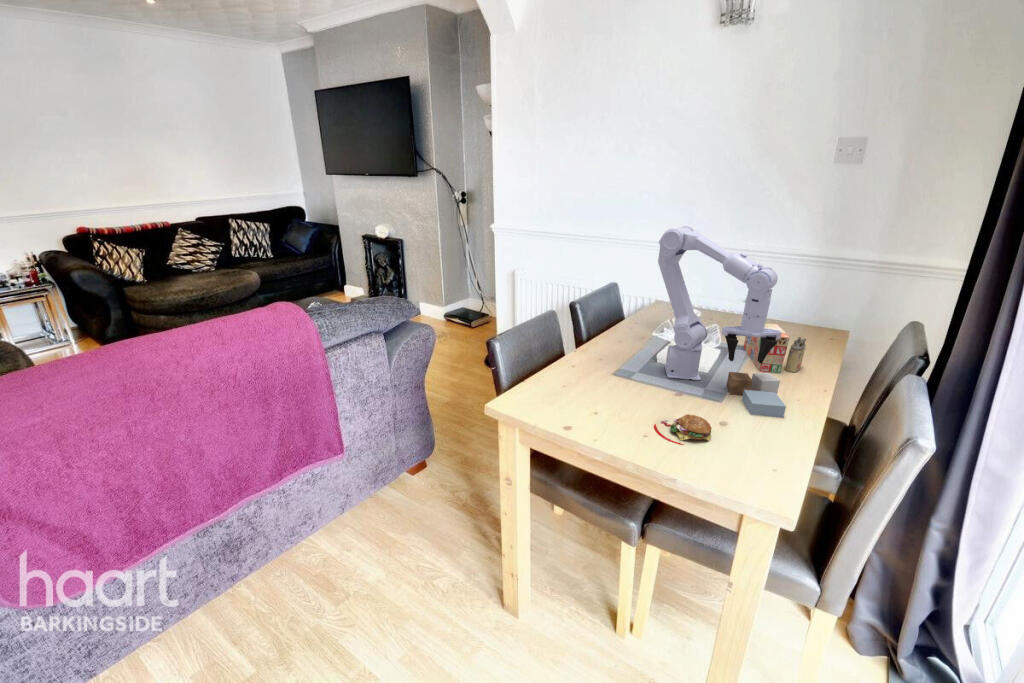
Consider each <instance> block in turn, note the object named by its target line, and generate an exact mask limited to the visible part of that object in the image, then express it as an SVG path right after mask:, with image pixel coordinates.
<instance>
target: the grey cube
mask: <svg viewBox="0 0 1024 683" xmlns="http://www.w3.org/2000/svg"><path fill="white" fill-rule="evenodd" d="M751 379H752V386H751V390H753V391H764V392H775V393H776V394H777V395H778V392H779V388H780V383H781V380H780V379H778V377H775V376H774V375H773V373H770V372H758V373H754V372H753V373H752V376H751Z"/></svg>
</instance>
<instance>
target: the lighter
mask: <svg viewBox="0 0 1024 683" xmlns="http://www.w3.org/2000/svg"><path fill="white" fill-rule="evenodd" d="M806 341H807V339H806V338H804V337H803V338H802V337H801V336H798V337H797V339H795V340H794V341H793V343H792V344H791V346H790V348H789V351H788V354H787V359H786V363H785V367H784V370H786V371H787V372H790V373H797V372H799V371H800V369H801V367H802V362H803V359H804V355H805V351H806V343H805V342H806Z"/></svg>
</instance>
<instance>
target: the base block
mask: <svg viewBox="0 0 1024 683" xmlns="http://www.w3.org/2000/svg"><path fill="white" fill-rule="evenodd" d="M741 401H742V403H743V405H744V406H745V408H746V410H747V412H748V413H749V415H751V416H752V415H753V416H763V417H774V418H784V416H785V413H786V409H787V406H786V404H785V403H784V402H783V401H782V399H781V398H780V396H779V395H778V393H777V394H776V393H775V392H764V391H753V390H744V392H743V396H741Z"/></svg>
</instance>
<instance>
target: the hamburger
mask: <svg viewBox="0 0 1024 683" xmlns="http://www.w3.org/2000/svg"><path fill="white" fill-rule="evenodd" d="M668 422H669V420H666V419H665V420H661V421H660V424H662V425H664V426H665V427H668V428H670V429H669V430H670V431H671V432H672V433H673V432H675V434H676V435H677V437H678V438H679V441H684V440H693V441H694V440H695V441H702V440H707V441H708V442H710V440H711V439H712V426H711V424H710V423H709V421H708V420H706V419H705V418H703V417H701V416H698V415H694V414H685V415H683V416H681V417H679V418H676V419H674V420H673V423H671V424H669V423H668ZM653 429H654V431H655V432H656V434H657V435H658V436H659V437H661V438H662V439H664V440H666V441H667V442H670V443H673V444H676V445H680V446H685V444H684V443H680V442H677V441H675V440H672V439H670V438H668V437H667V436H665V435H663V434H662V433H661V432H660V431H659V429H658V428H657V425H656V423H654V425H653Z"/></svg>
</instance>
